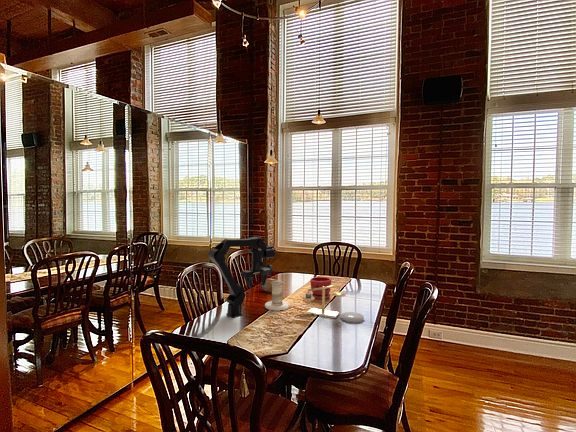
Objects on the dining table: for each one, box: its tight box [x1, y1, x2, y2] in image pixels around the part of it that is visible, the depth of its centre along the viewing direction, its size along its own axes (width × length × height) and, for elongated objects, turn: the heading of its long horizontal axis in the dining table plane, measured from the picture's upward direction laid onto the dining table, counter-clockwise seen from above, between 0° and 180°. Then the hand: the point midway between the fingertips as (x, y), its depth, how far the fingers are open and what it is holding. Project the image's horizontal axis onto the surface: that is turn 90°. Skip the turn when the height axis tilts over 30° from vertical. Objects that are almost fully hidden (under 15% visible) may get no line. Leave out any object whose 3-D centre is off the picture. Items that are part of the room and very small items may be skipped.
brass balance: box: [301, 284, 347, 319], centre depth 191 cm, size 24×7×17 cm, turn 66°
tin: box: [260, 277, 280, 293], centre depth 234 cm, size 15×3×8 cm, turn 62°
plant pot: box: [310, 276, 332, 300], centre depth 222 cm, size 13×13×12 cm
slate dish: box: [340, 311, 364, 324], centre depth 185 cm, size 12×12×2 cm
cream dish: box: [264, 300, 290, 312], centre depth 202 cm, size 14×14×2 cm
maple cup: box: [271, 280, 284, 306], centre depth 202 cm, size 7×7×13 cm
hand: (257, 287), depth 196 cm, fingers open, 9 cm apart
